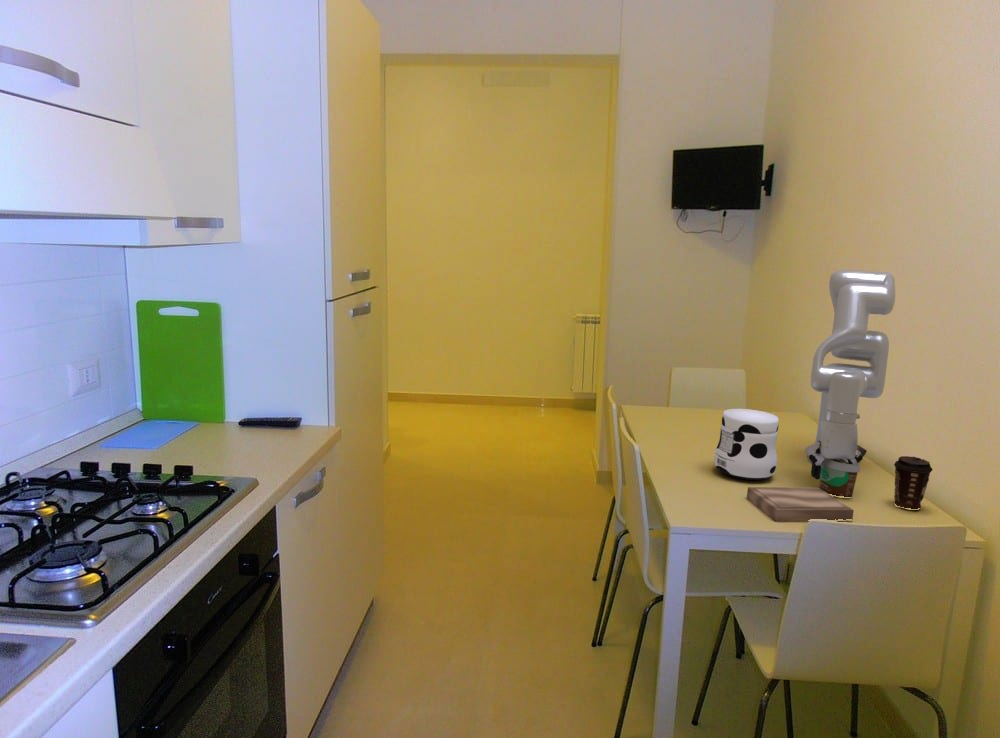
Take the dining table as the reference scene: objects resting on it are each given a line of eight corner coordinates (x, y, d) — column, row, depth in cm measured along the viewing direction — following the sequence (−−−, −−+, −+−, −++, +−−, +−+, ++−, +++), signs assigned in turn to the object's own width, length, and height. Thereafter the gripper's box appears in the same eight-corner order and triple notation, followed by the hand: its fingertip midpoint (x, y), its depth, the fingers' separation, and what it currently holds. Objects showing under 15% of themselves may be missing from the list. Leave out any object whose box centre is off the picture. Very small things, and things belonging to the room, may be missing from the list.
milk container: (779, 473, 216) (787, 414, 213) (768, 489, 201) (776, 426, 198) (721, 461, 225) (727, 404, 221) (706, 476, 210) (712, 415, 207)
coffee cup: (914, 501, 197) (921, 455, 195) (933, 513, 189) (941, 465, 186) (882, 500, 197) (889, 454, 194) (900, 512, 189) (908, 464, 186)
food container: (805, 486, 205) (809, 452, 204) (822, 484, 207) (827, 451, 205) (837, 502, 194) (842, 466, 192) (855, 500, 196) (860, 464, 194)
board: (746, 497, 193) (747, 486, 193) (817, 498, 196) (818, 487, 195) (775, 521, 178) (777, 509, 177) (852, 521, 180) (853, 509, 180)
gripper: (861, 415, 201) (853, 474, 204) (803, 413, 199) (795, 473, 202) (878, 421, 194) (869, 483, 197) (817, 419, 192) (809, 482, 194)
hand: (831, 478), depth 199 cm, fingers open, 9 cm apart
